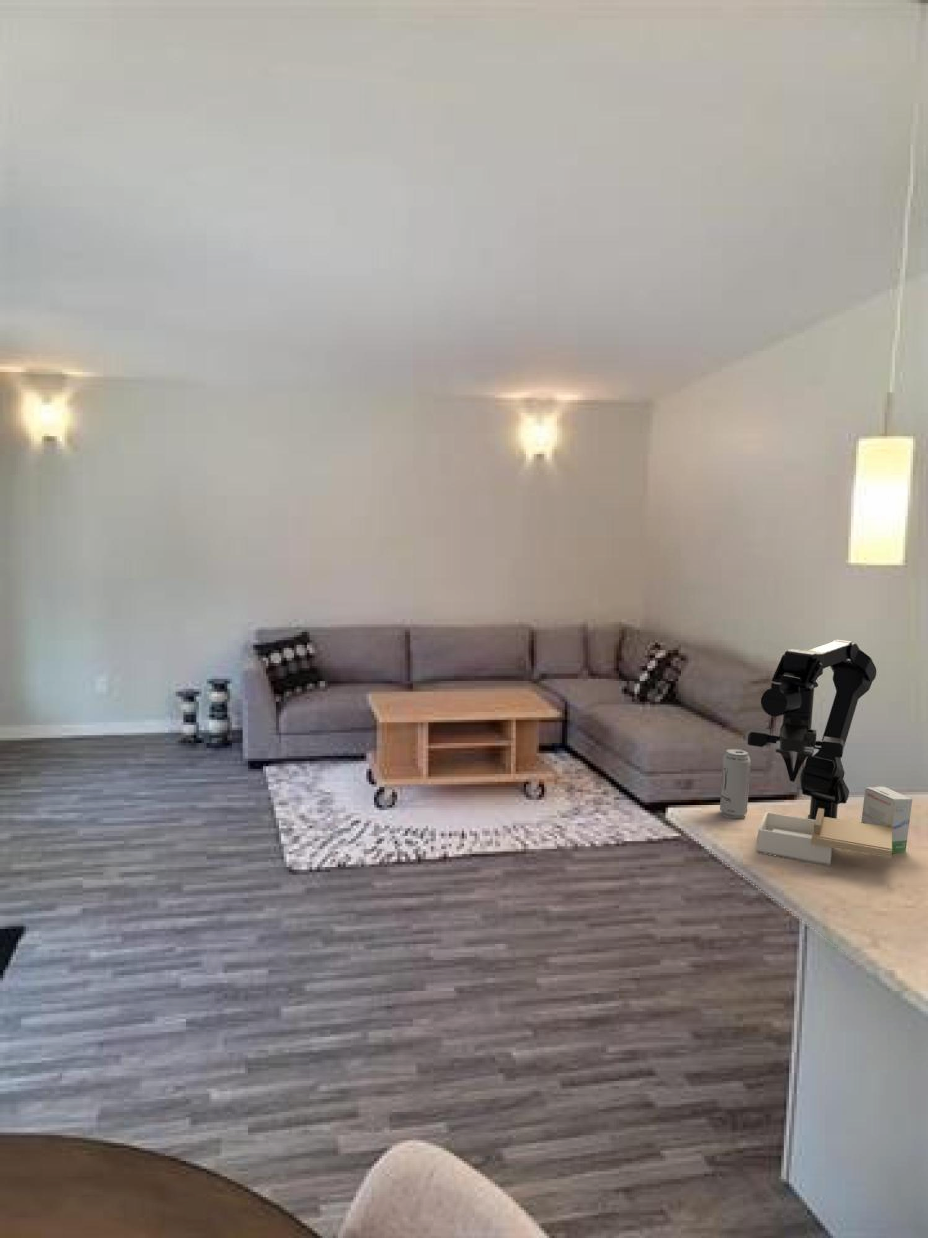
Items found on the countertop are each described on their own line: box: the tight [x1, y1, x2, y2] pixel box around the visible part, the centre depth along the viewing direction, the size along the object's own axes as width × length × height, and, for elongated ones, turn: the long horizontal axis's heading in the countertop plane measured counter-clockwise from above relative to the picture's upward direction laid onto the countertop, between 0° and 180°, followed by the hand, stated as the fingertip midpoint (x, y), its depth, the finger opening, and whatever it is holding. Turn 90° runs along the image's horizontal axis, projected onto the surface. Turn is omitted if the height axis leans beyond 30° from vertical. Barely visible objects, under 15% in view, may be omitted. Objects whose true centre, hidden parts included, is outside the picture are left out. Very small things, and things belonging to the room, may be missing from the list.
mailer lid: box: [811, 808, 893, 859], centre depth 178 cm, size 14×14×4 cm
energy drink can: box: [719, 748, 752, 819], centre depth 202 cm, size 6×6×15 cm
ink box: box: [860, 786, 913, 854], centre depth 186 cm, size 9×5×12 cm, turn 17°
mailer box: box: [756, 811, 834, 867], centre depth 183 cm, size 12×14×5 cm
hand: (792, 781), depth 187 cm, fingers closed
